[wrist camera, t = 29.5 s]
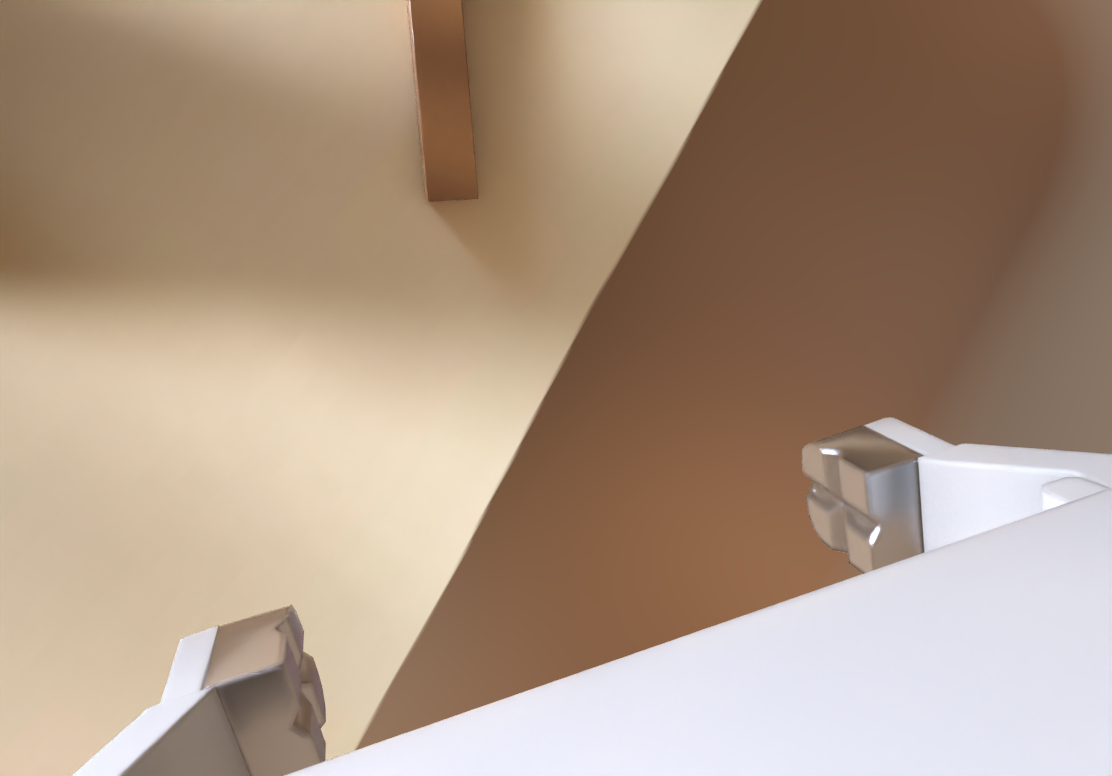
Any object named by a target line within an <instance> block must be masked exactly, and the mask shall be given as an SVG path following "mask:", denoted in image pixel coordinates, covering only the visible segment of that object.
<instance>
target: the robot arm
mask: <svg viewBox="0 0 1112 776" xmlns="http://www.w3.org/2000/svg"><path fill="white" fill-rule="evenodd" d="M802 467H803V473H804V474H805V475H807V476H808V478H810V479H811V480H812V481H813V483H812V485H811V488H810V490H809V492H808V494H807V496H806V500H807V507H808V513H809V518H810V520H811V522H812V525H813V527H814V529H815V532H816V533H817V535H818V536H819V537H820V539H821V540H822V541H823V542H824V543H825V544H826V545H827V546H828V547H830V548H831V549H832V550H836V551H841V552H846V553H848V558H849V563H850V564H851V565H853V566H854V567H855V568H856V569H858V570H859V571H860V572H862V573H863V574H862V575H859V576H856V577H853V578H850V579H847V580H845V581H842V582H839V583H836V584H833V585H830V586H827V587H824V588H822V589H819V590H816V591H813V592H810V593H807V594H805V595H801V596H799V597H796V598H793V599H790V600H787V601H784V602H781V603H778V604H776V605H773V606H770V607H767V608H764V609H761V610H759V611H756V612H753V613H750V614H747V615H744V616H741V617H738V618H735V619H732V620H729V621H727V622H724V623H721V624H718V625H715V626H712V627H709V628H706V629H704V630H701V631H698V632H695V633H692V634H689V635H686V636H684V637H681V638H678V639H675V640H672V641H669V642H666V643H663V644H660V645H658V646H655V647H652V648H649V649H646V650H643V651H640V652H637V653H635V654H632V655H629V656H626V657H623V658H620V659H617V660H614V661H612V662H609V663H606V664H603V665H600V666H597V667H594V668H591V669H589V670H586V671H583V672H580V673H577V674H575V675H571V676H568V677H566V678H563V679H560V680H557V681H555V682H551V683H549V684H546V685H543V686H540V687H537V688H534V689H531V690H528V691H526V692H522V693H520V694H517V695H514V696H511V697H508V698H505V699H502V700H499V701H497V702H494V703H491V704H488V705H485V706H482V707H479V708H476V709H474V710H471V711H468V712H465V713H462V714H459V715H456V716H453V717H451V718H448V719H445V720H442V721H439V722H436V723H433V724H430V725H428V726H425V727H422V728H419V729H416V730H413V731H410V732H407V733H405V734H402V735H399V736H396V737H393V738H390V739H387V740H384V741H382V742H379V743H376V744H373V745H370V746H367V747H365V748H361V749H359V750H356V751H353V752H350V753H347V754H344V755H341V756H339V757H336V758H333V759H330V760H327V761H325V740H324V738H323V735H322V732H321V729H320V728H321V727H322V726H323V725H324V723H325V722H326V714H325V702H324V696H323V689H322V685H321V682H320V678H319V674H318V671H317V668H316V665H315V662H314V659H313V657H311V656H310V655H308V654H307V653H305V652H303V638H304V631H303V628H302V625H301V623H300V620H299V617H298V615H297V612H296V610H295V609H294V608H293V606H292V605H289V606H286V607H282V608H279V609H275V610H272V611H269V612H265V613H262V614H258V615H255V616H252V617H248V618H245V619H241V620H238V621H235V622H231V623H228V624H224V625H222V626H219V625H218V626H215V627H212V628H209V629H206V630H203V631H200V632H197V633H195V634H192V635H189V636H186V637H184V638H181V640H180V642H179V646H178V649H177V652H176V655H175V658H174V661H173V665H172V668H171V671H170V674H169V677H168V681H167V684H166V687H165V690H164V693H163V696H162V700H161V703H160V704H157V705H154V706H151V707H149V708H148V709H147V710H145V711H144V712H143V713H142V714H141V715H140V716H139V717H138V718H136V719H135V720H134V721H133V722H132V723H131V724H130V725H129V726H127V727H126V728H125V729H124V730H123V731H122V732H121V733H120V734H118V735H117V736H116V737H115V738H114V739H113V740H112V741H111V742H110V743H108V744H107V745H106V746H105V747H104V748H103V749H102V750H101V751H99V752H98V753H97V754H96V755H95V756H94V757H93V758H92V759H90V760H89V761H88V762H87V763H86V764H85V765H84V766H83V767H81V768H80V769H79V770H78V771H77V772H76V773H75V774H74V775H72V776H1112V454H1107V453H1092V452H1078V451H1065V450H1064V451H1063V450H1050V449H1037V448H1036V449H1035V448H1023V447H1009V446H1008V447H1007V446H994V445H980V444H965V443H963V444H960V445H957V446H954V445H952V444H950V443H948V442H946V441H943V440H941V439H939V438H937V437H935V436H932V435H930V434H928V433H926V432H924V431H921V430H919V429H917V428H915V427H913V426H910V425H908V424H906V423H904V422H902V421H900V420H897V419H895V418H893V417H891V418H883V419H880V420H877V421H875V422H872V423H869V424H867V425H862V426H859V427H856V428H853V429H850V430H847V431H844V432H841V433H838V434H835V435H832V436H829V437H826V438H823V439H820V440H818V441H815V442H812V443H809V444H808V445H806V446H804V447H803V452H802Z"/></svg>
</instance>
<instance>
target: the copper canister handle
mask: <svg viewBox="0 0 1112 776" xmlns="http://www.w3.org/2000/svg"><path fill="white" fill-rule="evenodd" d="M407 10H408V20H409V31H410V41H411V52H412V62H413V72H414V83H415V93H416V103H417V114H418V124H419V134H420V145H421V155H422V166H423V176H424V186H425V197H426V202H434V201H449V200H464V199H477V198H478V190H477V177H476V165H475V153H474V141H473V129H472V117H471V105H470V93H469V80H468V68H467V56H466V44H465V32H464V20H463V8H462V0H407Z"/></svg>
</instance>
